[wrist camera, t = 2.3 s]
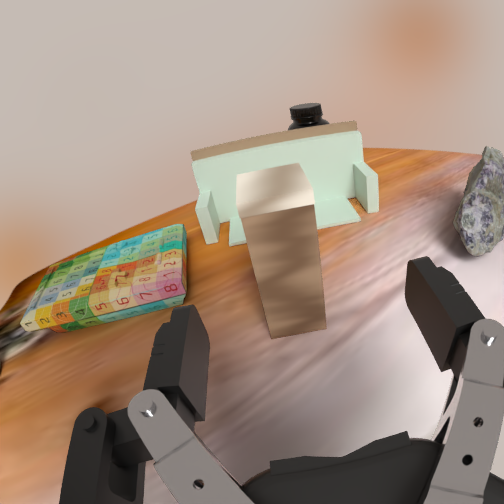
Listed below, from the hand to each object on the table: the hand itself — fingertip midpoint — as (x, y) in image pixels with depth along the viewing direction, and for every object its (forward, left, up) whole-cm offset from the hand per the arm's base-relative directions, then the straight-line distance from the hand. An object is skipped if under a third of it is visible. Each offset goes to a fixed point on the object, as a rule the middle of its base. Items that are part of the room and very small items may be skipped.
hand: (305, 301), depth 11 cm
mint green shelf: (+2, +28, -12) cm, 31 cm away
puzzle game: (-20, +18, -12) cm, 30 cm away
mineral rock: (+23, +18, -12) cm, 31 cm away
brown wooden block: (0, +11, -12) cm, 16 cm away
